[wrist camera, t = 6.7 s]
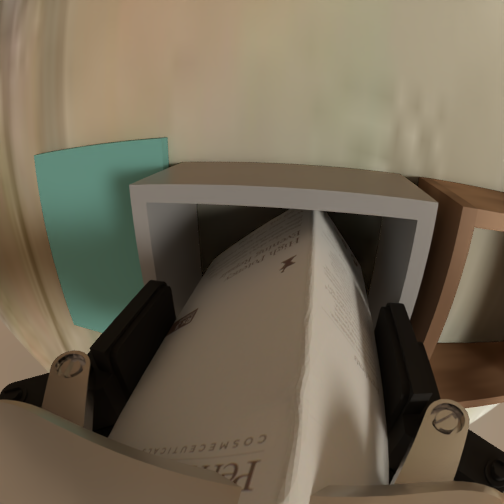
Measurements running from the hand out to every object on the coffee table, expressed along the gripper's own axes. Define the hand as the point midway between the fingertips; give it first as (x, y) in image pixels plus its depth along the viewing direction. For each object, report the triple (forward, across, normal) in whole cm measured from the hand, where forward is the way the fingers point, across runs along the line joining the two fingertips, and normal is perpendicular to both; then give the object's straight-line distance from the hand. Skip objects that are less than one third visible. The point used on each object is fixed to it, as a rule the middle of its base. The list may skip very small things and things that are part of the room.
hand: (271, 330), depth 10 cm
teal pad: (+5, +10, 0) cm, 11 cm away
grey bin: (+5, 0, 0) cm, 5 cm away
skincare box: (+5, 0, 0) cm, 5 cm away
